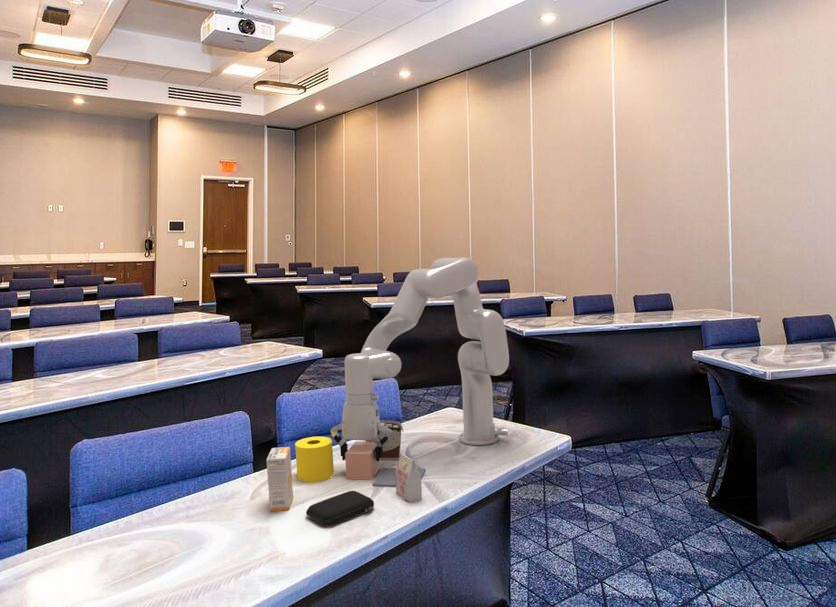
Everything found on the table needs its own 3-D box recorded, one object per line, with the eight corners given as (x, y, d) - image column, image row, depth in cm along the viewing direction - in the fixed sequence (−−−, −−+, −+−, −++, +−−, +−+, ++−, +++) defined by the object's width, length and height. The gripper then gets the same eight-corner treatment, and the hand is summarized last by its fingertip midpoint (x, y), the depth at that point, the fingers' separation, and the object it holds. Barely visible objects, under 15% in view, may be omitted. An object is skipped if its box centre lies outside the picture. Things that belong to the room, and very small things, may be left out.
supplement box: (274, 497, 149) (271, 447, 148) (293, 496, 150) (290, 446, 149) (269, 512, 141) (265, 458, 140) (289, 510, 141) (286, 457, 140)
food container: (406, 451, 180) (405, 419, 179) (404, 458, 174) (403, 425, 173) (367, 451, 181) (365, 420, 180) (363, 458, 175) (361, 426, 174)
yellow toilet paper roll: (302, 485, 157) (300, 450, 156) (293, 473, 166) (291, 440, 165) (338, 477, 161) (336, 443, 160) (327, 466, 170) (325, 434, 169)
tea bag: (409, 489, 151) (407, 451, 150) (421, 499, 145) (420, 459, 144) (396, 493, 149) (394, 454, 148) (408, 502, 143) (406, 462, 142)
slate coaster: (425, 470, 164) (425, 468, 164) (417, 487, 152) (417, 485, 152) (383, 469, 166) (383, 467, 166) (372, 486, 154) (372, 484, 154)
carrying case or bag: (328, 532, 130) (380, 511, 140) (327, 519, 130) (380, 498, 139) (303, 518, 138) (354, 498, 148) (302, 505, 138) (353, 486, 147)
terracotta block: (380, 465, 169) (378, 442, 168) (371, 479, 159) (370, 454, 158) (356, 465, 170) (355, 441, 169) (346, 478, 160) (345, 453, 159)
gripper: (393, 395, 165) (395, 455, 166) (333, 395, 168) (336, 453, 169) (387, 402, 157) (389, 464, 159) (325, 401, 160) (327, 462, 162)
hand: (361, 459), depth 164 cm, fingers open, 9 cm apart
